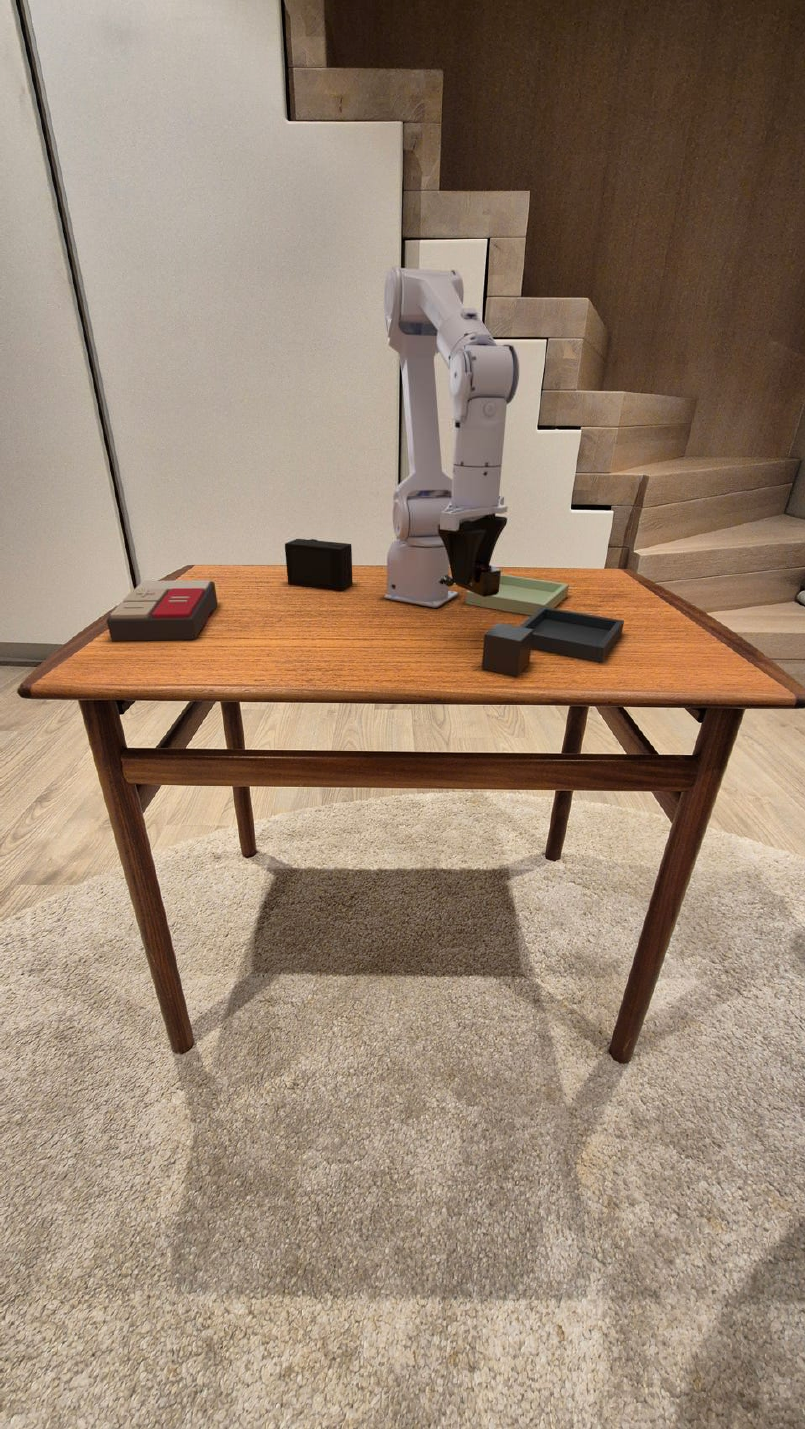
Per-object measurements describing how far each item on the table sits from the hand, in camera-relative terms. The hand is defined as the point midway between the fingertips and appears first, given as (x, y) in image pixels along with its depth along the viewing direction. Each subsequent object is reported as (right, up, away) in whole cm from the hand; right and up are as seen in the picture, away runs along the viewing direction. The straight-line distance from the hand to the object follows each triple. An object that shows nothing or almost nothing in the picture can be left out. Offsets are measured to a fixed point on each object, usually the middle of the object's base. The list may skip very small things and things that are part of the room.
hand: (469, 578), depth 77 cm
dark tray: (+14, -7, +4) cm, 16 cm away
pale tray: (+10, +1, +19) cm, 21 cm away
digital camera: (-22, +5, +26) cm, 35 cm away
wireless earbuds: (0, -2, 0) cm, 2 cm away
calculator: (-42, -4, +8) cm, 43 cm away
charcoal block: (+4, -12, -4) cm, 13 cm away
